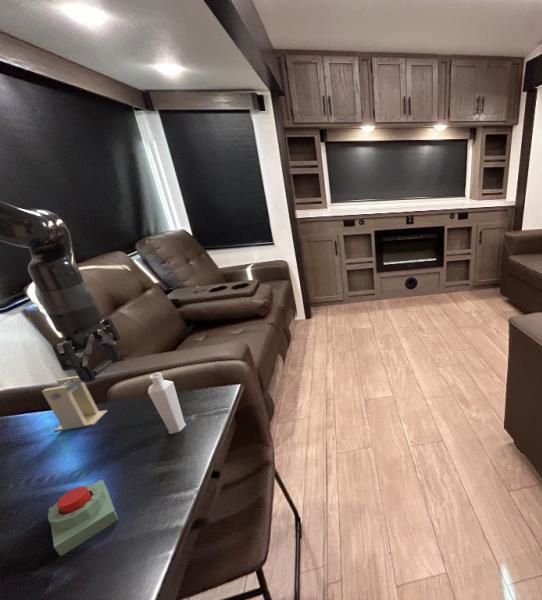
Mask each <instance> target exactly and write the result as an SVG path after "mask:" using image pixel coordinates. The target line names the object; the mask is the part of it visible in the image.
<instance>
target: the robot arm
mask: <svg viewBox="0 0 542 600" xmlns="http://www.w3.org/2000/svg"><path fill="white" fill-rule="evenodd" d="M0 242H2V243H6V244H8V245H12V246H17V247H19V248H26V249H29V253H30V256H31V260H30V262H29V263H28V265H27V271H28V274H29V276H30V279H31V280H32V282H33V284H34V286H35V288H36V290H37V292H38V294H39V298H40V301H41V303H42V305H43V307H44V309H45V311H46V313H47V315H48V317H49V319H50V321H51V323H52V325H53V326H54V329H55V330H56V332H58V333H61V334H63V335H64V341H62V342H60V343H59V342H58V343H54V344H53V345H52V350H53V352H54V354H55V356H56V359H57V361H58V362H59V365H60V368H61V369H62V371H64V372H67V371H73V370H74V371H75V373H76V376H79V378H80V380H81V381H82V382H84V383H85V384H86V383H92V382H94V381H95V380H96V376H94V374H93V372H92V370H93V369H92V368H91V365H89V358H90V356H92V352H93V350H94V349H95V348H96V347H98V346H99V347H102V350H103V352H104V354H105V357H106V360H108V359H109V360H111V361H112V363H114V362H118V361H120V360H121V357H120V353H119V351H118V349H117V341H120V340H121V336H120V333H119V332H118V330H117V328H116V326H115V324H114V322H113V319H112V318H111V317H107V318H104V317H103V314H102V313H101V310H100V308H99V306H98V304H97V302H96V299H95V297H94V295H93V293H92V291H91V289H90V287H89V286H88V285H87V282H86V281H85V279H84V277H83V275H82V272H81V270H80V267H79V266H78V264H77V261H76V258H75V250H74V247H73V241H72V237H71V234H70V231H69V229H68V227H67V224H66V223H65V221H64V220H63V219H62V218H61V217H60V216H59V215H58V214H56V213H54V212H52V211H50V210H48V209H43V208H26V209H23V208H20V207H17V206H14V205H11V204H9V203H6V202H4V201H2V200H0ZM110 334H111V335H110ZM78 351H80V352H78ZM80 358H81V359H80ZM79 360H80V361H79ZM69 362H70V363H69Z"/></svg>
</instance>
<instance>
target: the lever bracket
mask: <svg viewBox="0 0 542 600" xmlns="http://www.w3.org/2000/svg"><path fill="white" fill-rule="evenodd" d="M77 379H79V376H78V375H75V376H67V377H61V378H58V379H57V380H56V382H57V384H58V386H53V387H47V388H44V389H43V390H41V393H42V395H43V396H44V398H45V400H46V401H47V403H48V405H49V407H50V409H51V410H52V413H54V416H55V417H56V419H57V421H58V422H59V426H57V427H56V428H55V429H54V432H61V431H65V430H72V429H78V428H85V427H88V426H94V425H95V424H96V423H97V422H98V421H99V420H100V419H101V418H103V416H104V415H105V414H106V413H107V412H108V410H107V409H104V410H99V409H98V407H97V405H96V402H95V401H94V399H93V397H92V395H91V393H90V391H89V389H88V387H87V385H86V383H84V382H82V383H80V384H78V385H77V387H78V388H77V389H75V390H74V391H73V392H72V393H71V391H70V389H69V388H68V386H67V385H66V386H61V385H62V384H64V383H66V382H67V381H69V380H70V381H71V382H74V381H75V380H77ZM59 386H60V387H59Z"/></svg>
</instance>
